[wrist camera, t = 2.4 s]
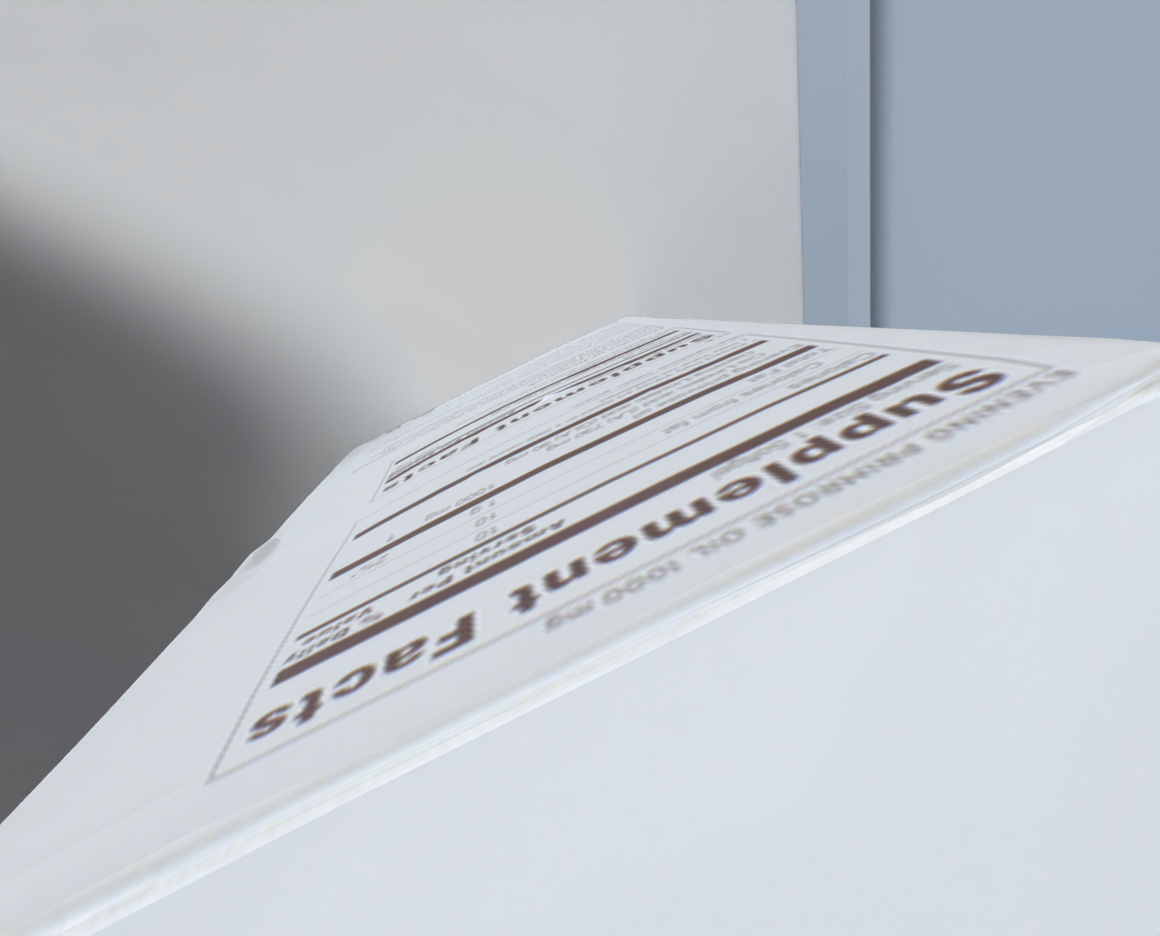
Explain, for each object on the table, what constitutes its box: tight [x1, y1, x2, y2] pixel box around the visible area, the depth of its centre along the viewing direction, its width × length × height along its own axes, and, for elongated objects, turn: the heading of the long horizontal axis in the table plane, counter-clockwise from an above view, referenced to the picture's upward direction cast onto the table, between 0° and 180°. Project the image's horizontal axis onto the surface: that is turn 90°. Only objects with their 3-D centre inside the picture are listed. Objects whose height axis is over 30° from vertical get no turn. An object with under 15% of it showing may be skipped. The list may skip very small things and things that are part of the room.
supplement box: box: [0, 316, 1160, 936], centre depth 13 cm, size 10×9×17 cm
